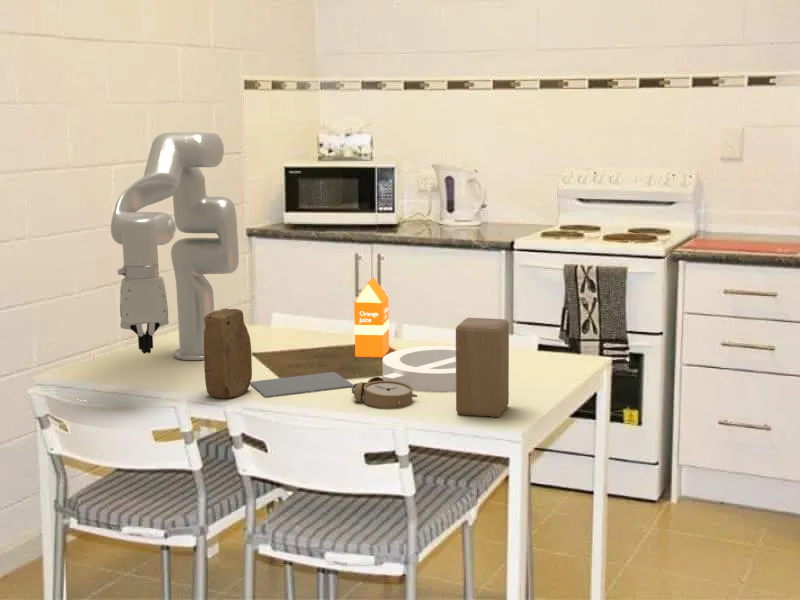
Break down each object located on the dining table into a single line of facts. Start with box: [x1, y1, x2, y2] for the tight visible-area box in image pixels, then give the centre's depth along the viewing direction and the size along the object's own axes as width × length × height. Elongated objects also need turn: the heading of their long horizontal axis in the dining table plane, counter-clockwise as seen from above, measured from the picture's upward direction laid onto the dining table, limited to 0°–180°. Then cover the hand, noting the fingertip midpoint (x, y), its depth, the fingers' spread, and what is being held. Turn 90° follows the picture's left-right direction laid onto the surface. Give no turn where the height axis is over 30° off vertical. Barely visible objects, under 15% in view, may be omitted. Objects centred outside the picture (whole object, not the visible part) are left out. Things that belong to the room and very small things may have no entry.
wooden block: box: [455, 317, 510, 418], centre depth 253 cm, size 10×10×20 cm
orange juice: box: [353, 276, 390, 358], centre depth 307 cm, size 8×9×20 cm
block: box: [203, 308, 253, 399], centre depth 270 cm, size 11×8×20 cm
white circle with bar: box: [381, 345, 456, 393], centre depth 284 cm, size 28×28×5 cm
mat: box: [250, 371, 354, 398], centre depth 278 cm, size 14×22×1 cm, turn 113°
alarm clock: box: [351, 376, 418, 410], centre depth 264 cm, size 11×5×15 cm
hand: (146, 351), depth 262 cm, fingers closed
